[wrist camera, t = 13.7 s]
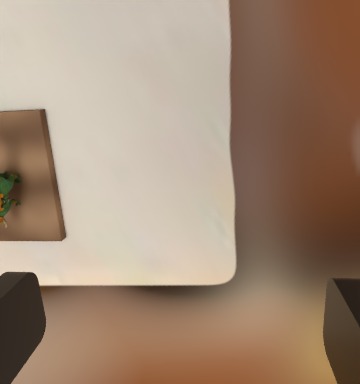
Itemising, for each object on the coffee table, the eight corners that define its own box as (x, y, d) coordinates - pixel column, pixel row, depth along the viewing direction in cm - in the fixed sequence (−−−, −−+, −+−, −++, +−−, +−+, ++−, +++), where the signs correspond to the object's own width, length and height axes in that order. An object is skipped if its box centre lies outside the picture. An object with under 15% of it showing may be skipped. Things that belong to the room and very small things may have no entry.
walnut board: (-35, 113, 41) (-43, 114, 39) (44, 109, 39) (39, 110, 38) (-6, 236, 45) (-12, 240, 44) (65, 237, 44) (61, 241, 43)
